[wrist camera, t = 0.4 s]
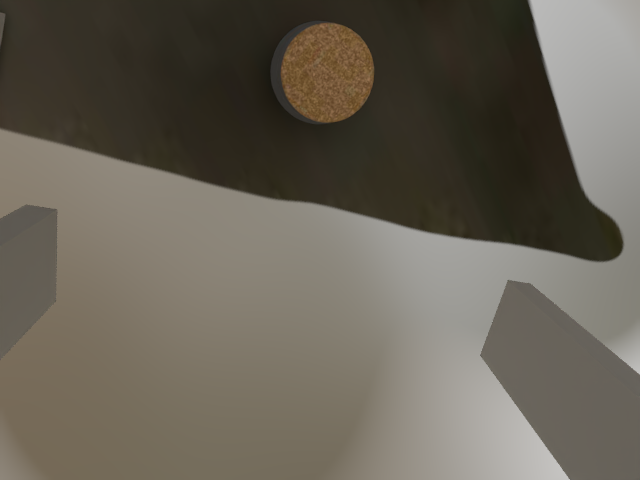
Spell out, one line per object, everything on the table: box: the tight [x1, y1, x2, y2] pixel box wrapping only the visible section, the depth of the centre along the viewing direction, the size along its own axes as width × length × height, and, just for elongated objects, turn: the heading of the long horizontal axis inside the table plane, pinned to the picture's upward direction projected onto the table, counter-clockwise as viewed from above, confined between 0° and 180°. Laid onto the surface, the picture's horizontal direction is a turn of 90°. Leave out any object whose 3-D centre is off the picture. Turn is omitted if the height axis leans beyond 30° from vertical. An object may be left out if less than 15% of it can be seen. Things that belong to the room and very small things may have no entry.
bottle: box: [270, 21, 374, 124], centre depth 30 cm, size 6×6×15 cm
